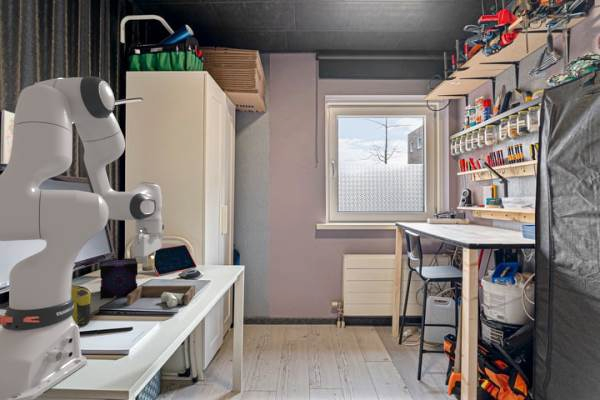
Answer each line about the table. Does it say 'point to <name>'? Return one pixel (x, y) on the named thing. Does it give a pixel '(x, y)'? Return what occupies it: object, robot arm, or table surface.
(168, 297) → the pipe fitting
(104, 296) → the energy cube
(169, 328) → the table surface
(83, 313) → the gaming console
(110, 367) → the table surface
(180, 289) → the corral
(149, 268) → the brass bushing
